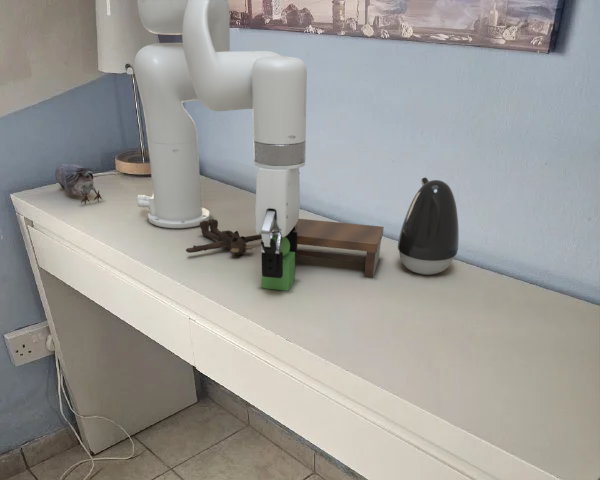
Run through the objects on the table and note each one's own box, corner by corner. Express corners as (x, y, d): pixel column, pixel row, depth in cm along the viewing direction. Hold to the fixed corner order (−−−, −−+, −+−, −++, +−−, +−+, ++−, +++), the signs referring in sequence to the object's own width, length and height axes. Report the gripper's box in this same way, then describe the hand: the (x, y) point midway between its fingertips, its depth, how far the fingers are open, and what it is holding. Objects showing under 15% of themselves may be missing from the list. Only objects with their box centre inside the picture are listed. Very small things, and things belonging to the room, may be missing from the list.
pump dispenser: (439, 256, 114) (452, 171, 105) (463, 278, 105) (480, 187, 97) (386, 259, 112) (396, 173, 103) (407, 282, 103) (419, 190, 95)
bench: (271, 266, 108) (271, 233, 104) (284, 249, 115) (284, 217, 111) (374, 278, 104) (377, 243, 101) (380, 259, 112) (383, 226, 108)
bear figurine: (248, 211, 123) (286, 225, 112) (249, 233, 125) (287, 248, 114) (163, 225, 115) (195, 242, 104) (166, 248, 117) (198, 267, 106)
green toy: (262, 288, 100) (261, 238, 95) (269, 277, 103) (268, 229, 99) (288, 291, 99) (289, 241, 95) (294, 280, 103) (295, 232, 98)
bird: (73, 186, 145) (66, 154, 141) (106, 201, 136) (100, 167, 132) (51, 190, 142) (44, 157, 138) (83, 206, 133) (77, 171, 129)
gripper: (270, 140, 97) (271, 246, 107) (237, 164, 83) (241, 283, 93) (316, 143, 96) (313, 249, 105) (290, 168, 82) (290, 288, 91)
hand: (280, 265), depth 99 cm, fingers open, 9 cm apart
